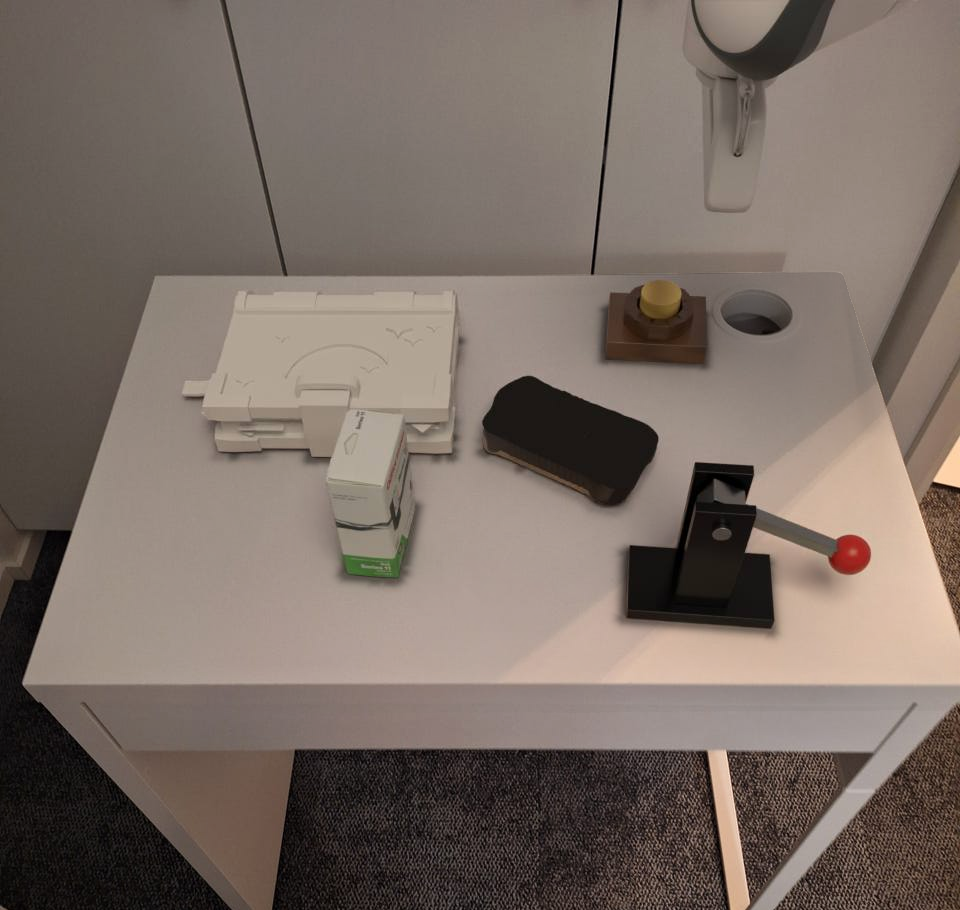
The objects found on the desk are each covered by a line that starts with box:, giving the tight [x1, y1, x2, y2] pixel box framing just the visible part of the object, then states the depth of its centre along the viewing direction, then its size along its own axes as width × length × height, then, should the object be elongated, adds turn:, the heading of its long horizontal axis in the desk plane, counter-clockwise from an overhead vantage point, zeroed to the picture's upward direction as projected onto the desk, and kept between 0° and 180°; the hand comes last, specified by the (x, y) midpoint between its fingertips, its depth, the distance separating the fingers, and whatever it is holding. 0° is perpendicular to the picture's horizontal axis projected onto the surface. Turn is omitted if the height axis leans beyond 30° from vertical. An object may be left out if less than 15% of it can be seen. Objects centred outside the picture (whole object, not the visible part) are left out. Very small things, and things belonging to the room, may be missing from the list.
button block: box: [605, 284, 708, 365], centre depth 97 cm, size 10×8×4 cm
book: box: [181, 289, 460, 458], centre depth 93 cm, size 19×28×8 cm
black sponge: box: [481, 375, 660, 507], centre depth 89 cm, size 16×8×4 cm, turn 56°
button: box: [640, 279, 682, 319], centre depth 95 cm, size 4×4×2 cm
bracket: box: [625, 461, 776, 630], centre depth 76 cm, size 12×7×13 cm, turn 84°
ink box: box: [325, 407, 416, 579], centre depth 80 cm, size 9×5×12 cm, turn 171°
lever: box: [697, 478, 872, 576], centre depth 73 cm, size 15×3×3 cm, turn 83°
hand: (714, 200), depth 83 cm, fingers closed
